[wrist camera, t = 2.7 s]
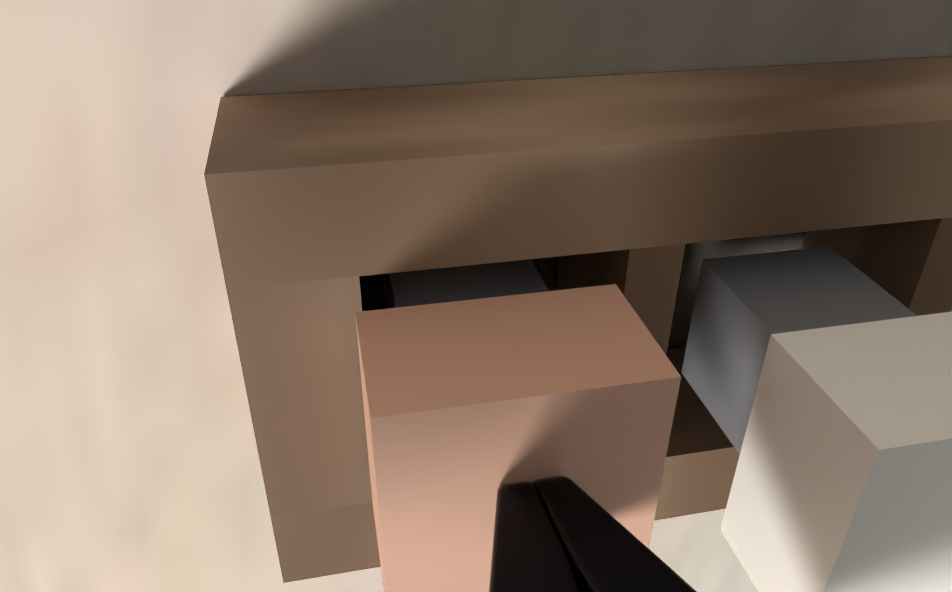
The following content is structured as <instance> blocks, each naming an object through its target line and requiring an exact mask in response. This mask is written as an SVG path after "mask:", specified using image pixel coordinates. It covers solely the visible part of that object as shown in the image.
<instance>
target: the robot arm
mask: <svg viewBox="0 0 952 592" xmlns="http://www.w3.org/2000/svg"><path fill="white" fill-rule="evenodd" d="M489 592H696V591H695V590H694V589H693V588H692V587H691V586H690V585H689V584H688V583H686V582H685V581H684V580H683V579H682V578H681V577H680V576H679V575H677V574H676V573H675V572H674V571H673V570H672V569H671V568H670V567H669V566H667V565H666V564H665V563H664V562H663V561H662V560H661V559H660V558H658V557H657V556H656V555H655V554H654V553H653V552H652V551H651V550H650V549H648V548H647V547H646V546H645V545H644V544H643V543H642V542H641V541H639V540H638V539H637V538H636V537H635V536H634V535H633V534H632V533H631V532H629V531H628V530H627V529H626V528H625V527H624V526H623V525H622V524H620V523H619V522H618V521H617V520H616V519H615V518H614V517H613V516H611V515H610V514H609V513H608V512H607V511H606V510H605V509H604V508H603V507H601V506H600V505H599V504H598V503H597V502H596V501H595V500H594V499H592V498H591V497H590V496H589V495H588V494H587V493H586V492H585V491H584V490H582V489H581V488H580V487H579V486H578V485H577V484H576V483H575V482H573V481H572V480H571V479H570V478H568V477H565V476H559V477H552V478H546V479H539V480H536V481H535V482H534V483H533V484H531V483H530V482H520V483H513V484H507V485H502V486H500V487H499V488H498V491H497V500H496V512H495V524H494V536H493V549H492V561H491V573H490V585H489Z"/></svg>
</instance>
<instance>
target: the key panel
mask: <svg viewBox="0 0 952 592" xmlns="http://www.w3.org/2000/svg"><path fill="white" fill-rule="evenodd" d="M204 175H205V181H206V186H207V191H208V196H209V201H210V206H211V211H212V217H213V222H214V227H215V232H216V237H217V242H218V248H219V253H220V258H221V263H222V268H223V273H224V278H225V284H226V289H227V294H228V299H229V304H230V309H231V314H232V320H233V325H234V330H235V335H236V340H237V345H238V350H239V356H240V361H241V366H242V371H243V376H244V381H245V386H246V392H247V397H248V402H249V407H250V412H251V417H252V422H253V428H254V433H255V438H256V443H257V448H258V453H259V458H260V464H261V469H262V474H263V479H264V484H265V489H266V494H267V500H268V505H269V510H270V515H271V520H272V525H273V530H274V536H275V541H276V546H277V551H278V556H279V561H280V567H281V572H282V577H283V582H284V583H285V582H291V581H297V580H303V579H309V578H315V577H321V576H327V575H333V574H339V573H345V572H351V571H357V570H363V569H368V568H374V567H380V566H381V565H380V557H379V550H378V542H377V534H376V526H375V519H374V511H373V503H372V492H371V481H370V470H369V459H368V448H367V437H366V426H365V415H364V404H363V393H362V382H361V371H360V360H359V349H358V338H357V327H356V316H355V312H361V311H362V304H361V292H360V280H359V276H367V275H377V274H387V273H397V272H407V271H417V270H427V269H437V268H447V267H457V266H467V265H477V264H487V263H497V262H507V261H517V260H527V259H538V258H548V257H558V256H559V269H558V282H557V290H565V289H574V288H584V287H593V286H602V285H611V284H616V285H617V286H618V288H619V289H620V291H621V292H622V294H623V295H624V296H625V298H626V299H627V301H628V302H629V303H630V305H631V306H632V308H633V309H634V311H635V312H636V313H637V315H638V316H639V318H640V319H641V320H642V322H643V323H644V325H645V326H646V328H647V329H648V330H649V332H650V333H651V335H652V336H653V337H654V339H655V340H656V342H657V343H658V345H659V346H660V347H661V349H662V350H663V352H664V353H665V354H666V356H667V357H668V359H669V360H670V362H671V363H672V364H673V366H674V367H675V369H676V370H677V371H678V373H679V374H680V376H681V381H680V386H679V391H678V397H677V402H676V407H675V412H674V418H673V423H672V428H671V434H670V439H669V444H668V449H667V455H666V460H665V465H664V470H663V476H662V481H661V486H660V492H659V497H658V502H657V507H656V513H655V518H654V520H660V519H666V518H672V517H678V516H683V515H689V514H695V513H701V512H707V511H713V510H719V509H725V508H726V506H727V502H728V498H729V494H730V490H731V487H732V483H733V479H734V475H735V471H736V467H737V463H738V460H739V456H740V454H739V453H738V452H737V450H736V449H735V447H734V446H733V444H732V443H731V442H730V440H729V439H728V437H727V436H726V435H725V433H724V432H723V430H722V429H721V428H720V426H719V425H718V423H717V422H716V421H715V419H714V418H713V416H712V415H711V414H710V412H709V411H708V409H707V408H706V407H705V405H704V404H703V402H702V401H701V399H700V398H699V397H698V395H697V394H696V392H695V391H694V390H693V388H692V387H691V385H690V384H689V383H688V381H687V380H686V378H685V377H684V376H683V374H682V373H681V372H682V366H683V361H684V356H685V350H686V347H682V348H674V349H667V348H668V342H669V337H670V331H671V325H672V319H673V314H674V308H675V302H676V296H677V291H678V285H679V279H680V273H681V267H682V262H683V256H684V250H685V244H688V243H698V242H708V241H718V240H728V239H738V238H749V237H759V236H769V235H779V234H789V233H799V232H806V234H805V238H804V242H803V245H802V249H810V248H819V247H829V246H830V247H831V248H833V249H834V250H835V251H836V252H838V253H839V254H840V255H841V256H843V257H844V258H845V259H846V260H848V261H849V262H850V263H851V264H853V265H854V266H855V267H857V268H858V269H859V270H860V271H862V272H863V273H864V274H865V275H867V276H868V277H869V278H870V279H872V280H873V281H874V282H875V283H877V284H878V285H879V286H880V287H882V288H883V289H884V290H885V291H887V292H888V293H889V294H890V295H892V296H893V297H894V298H896V299H897V300H898V301H899V302H901V303H902V304H903V305H904V306H906V307H907V308H908V309H909V310H911V311H912V312H913V313H914V314H916V315H917V316H920V315H928V314H936V313H944V312H950V310H951V307H952V56H945V57H927V58H909V59H891V60H873V61H855V62H838V63H820V64H802V65H784V66H766V67H748V68H730V69H712V70H694V71H676V72H658V73H640V74H622V75H604V76H587V77H569V78H551V79H533V80H515V81H497V82H479V83H461V84H443V85H425V86H407V87H389V88H371V89H354V90H336V91H318V92H300V93H282V94H264V95H246V96H228V97H221V99H220V104H219V109H218V113H217V118H216V123H215V127H214V132H213V136H212V141H211V146H210V150H209V155H208V160H207V164H206V169H205V174H204Z"/></svg>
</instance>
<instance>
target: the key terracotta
mask: <svg viewBox="0 0 952 592" xmlns="http://www.w3.org/2000/svg"><path fill="white" fill-rule="evenodd" d="M384 280H385V295H386V309H379V310H370V311H361V312H355V316H356V327H357V338H358V349H359V360H360V371H361V382H362V393H363V404H364V415H365V426H366V437H367V448H368V459H369V470H370V481H371V492H372V503H373V511H374V519H375V526H376V534H377V542H378V550H379V557H380V565H381V573H382V580H383V588H384V592H489V585H490V573H491V561H492V549H493V536H494V524H495V512H496V500H497V491H498V488H499V487H500V486H502V485H507V484H513V483H520V482H530V483H531V484H533V483H534V482H535V481H536V480H539V479H546V478H552V477H559V476H565V477H568V478H570V479H571V480H572V481H573V482H575V483H576V484H577V485H578V486H579V487H580V488H581V489H582V490H584V491H585V492H586V493H587V494H588V495H589V496H590V497H591V498H592V499H594V500H595V501H596V502H597V503H598V504H599V505H600V506H601V507H603V508H604V509H605V510H606V511H607V512H608V513H609V514H610V515H611V516H613V517H614V518H615V519H616V520H617V521H618V522H619V523H620V524H622V525H623V526H624V527H625V528H626V529H627V530H628V531H629V532H631V533H632V534H633V535H634V536H635V537H636V538H637V539H638V540H639V541H641V542H642V543H643V544H644V545H645V546H646V547H647V548H648V549H649V544H650V539H651V534H652V528H653V523H654V518H655V513H656V507H657V502H658V497H659V492H660V486H661V481H662V476H663V470H664V465H665V460H666V455H667V449H668V444H669V439H670V434H671V428H672V423H673V418H674V412H675V407H676V402H677V397H678V391H679V386H680V381H681V376H680V374H679V373H678V371H677V370H676V369H675V367H674V366H673V364H672V363H671V362H670V360H669V359H668V357H667V356H666V354H665V353H664V352H663V350H662V349H661V347H660V346H659V345H658V343H657V342H656V340H655V339H654V337H653V336H652V335H651V333H650V332H649V330H648V329H647V328H646V326H645V325H644V323H643V322H642V320H641V319H640V318H639V316H638V315H637V313H636V312H635V311H634V309H633V308H632V306H631V305H630V303H629V302H628V301H627V299H626V298H625V296H624V295H623V294H622V292H621V291H620V289H619V288H618V286H617V285H616V284H611V285H602V286H593V287H584V288H574V289H565V290H556V291H549V290H548V289H547V287H546V285H545V283H544V281H543V280H542V278H541V276H540V274H539V272H538V271H537V269H536V267H535V265H534V263H533V262H532V260H531V259H527V260H517V261H507V262H497V263H487V264H477V265H467V266H457V267H447V268H437V269H427V270H417V271H407V272H397V273H387V274H384Z"/></svg>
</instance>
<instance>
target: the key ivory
mask: <svg viewBox="0 0 952 592" xmlns="http://www.w3.org/2000/svg"><path fill="white" fill-rule="evenodd" d="M681 373H682V374H683V376H684V377H685V378H686V380H687V381H688V383H689V384H690V385H691V387H692V388H693V390H694V391H695V392H696V394H697V395H698V397H699V398H700V399H701V401H702V402H703V404H704V405H705V407H706V408H707V409H708V411H709V412H710V414H711V415H712V416H713V418H714V419H715V421H716V422H717V423H718V425H719V426H720V428H721V429H722V430H723V432H724V433H725V435H726V436H727V437H728V439H729V440H730V442H731V443H732V444H733V446H734V447H735V449H736V450H737V452H738V453H739V454H740V456H739V460H738V463H737V467H736V471H735V475H734V479H733V483H732V487H731V490H730V494H729V498H728V502H727V506H726V510H725V514H724V517H723V521H722V525H721V529H720V530H721V532H722V533H723V535H724V537H725V538H726V540H727V542H728V543H729V545H730V547H731V548H732V550H733V552H734V553H735V555H736V556H737V558H738V560H739V561H740V563H741V565H742V566H743V568H744V570H745V571H746V573H747V574H748V576H749V578H750V579H751V581H752V583H753V584H754V586H755V588H756V589H757V591H758V592H952V312H944V313H936V314H928V315H920V316H917V315H916V314H914V313H913V312H912V311H911V310H909V309H908V308H907V307H906V306H904V305H903V304H902V303H901V302H899V301H898V300H897V299H896V298H894V297H893V296H892V295H890V294H889V293H888V292H887V291H885V290H884V289H883V288H882V287H880V286H879V285H878V284H877V283H875V282H874V281H873V280H872V279H870V278H869V277H868V276H867V275H865V274H864V273H863V272H862V271H860V270H859V269H858V268H857V267H855V266H854V265H853V264H851V263H850V262H849V261H848V260H846V259H845V258H844V257H843V256H841V255H840V254H839V253H838V252H836V251H835V250H834V249H833V248H831V247H830V246H829V247H819V248H810V249H800V250H790V251H781V252H771V253H762V254H752V255H742V256H733V257H723V258H714V259H704V260H702V266H701V271H700V276H699V282H698V287H697V292H696V297H695V303H694V308H693V313H692V319H691V324H690V329H689V335H688V340H687V345H686V350H685V356H684V361H683V366H682V372H681Z"/></svg>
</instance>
